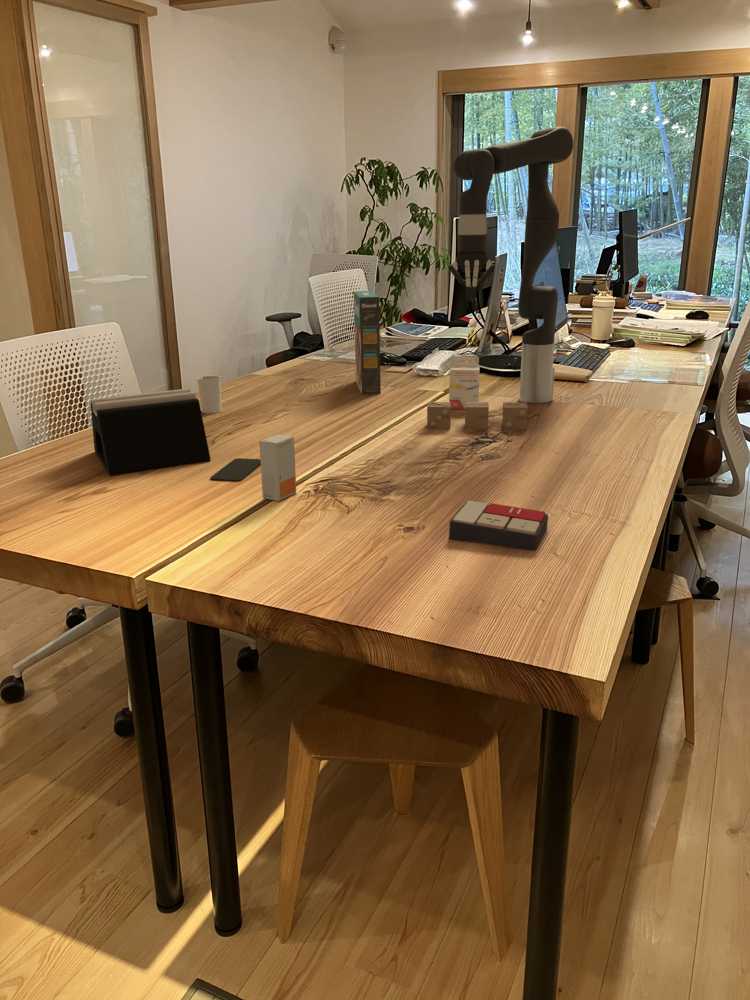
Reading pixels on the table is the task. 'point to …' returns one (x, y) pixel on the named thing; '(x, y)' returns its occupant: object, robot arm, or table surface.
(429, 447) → the table surface
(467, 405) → the plain walnut cube
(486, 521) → the button keypad
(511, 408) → the two pip cube
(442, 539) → the table surface
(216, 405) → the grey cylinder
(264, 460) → the skincare box
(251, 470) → the phone
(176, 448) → the device stand
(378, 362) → the cake mix box
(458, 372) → the ink cartridge box
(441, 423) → the three pip cube
